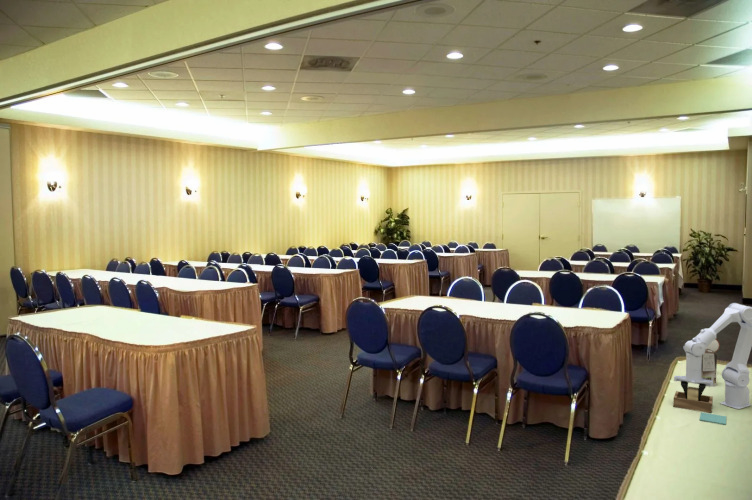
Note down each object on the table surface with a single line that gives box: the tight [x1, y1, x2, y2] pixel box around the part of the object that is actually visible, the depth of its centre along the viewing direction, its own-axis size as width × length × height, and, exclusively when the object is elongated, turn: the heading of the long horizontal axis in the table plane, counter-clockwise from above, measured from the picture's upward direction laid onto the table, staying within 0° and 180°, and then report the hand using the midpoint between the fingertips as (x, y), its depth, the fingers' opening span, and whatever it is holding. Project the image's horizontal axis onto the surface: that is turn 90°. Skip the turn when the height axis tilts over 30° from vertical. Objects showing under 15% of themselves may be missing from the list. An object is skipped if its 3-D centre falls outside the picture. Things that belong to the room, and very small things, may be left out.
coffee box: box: [701, 349, 718, 387], centre depth 265 cm, size 9×6×16 cm
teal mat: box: [699, 411, 727, 426], centre depth 222 cm, size 9×9×1 cm
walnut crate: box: [672, 390, 714, 414], centre depth 236 cm, size 10×14×4 cm
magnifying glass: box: [706, 338, 721, 353], centre depth 277 cm, size 9×2×20 cm, turn 53°
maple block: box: [687, 385, 699, 401], centre depth 235 cm, size 4×4×6 cm
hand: (692, 399), depth 235 cm, fingers closed on maple block, 4 cm apart
